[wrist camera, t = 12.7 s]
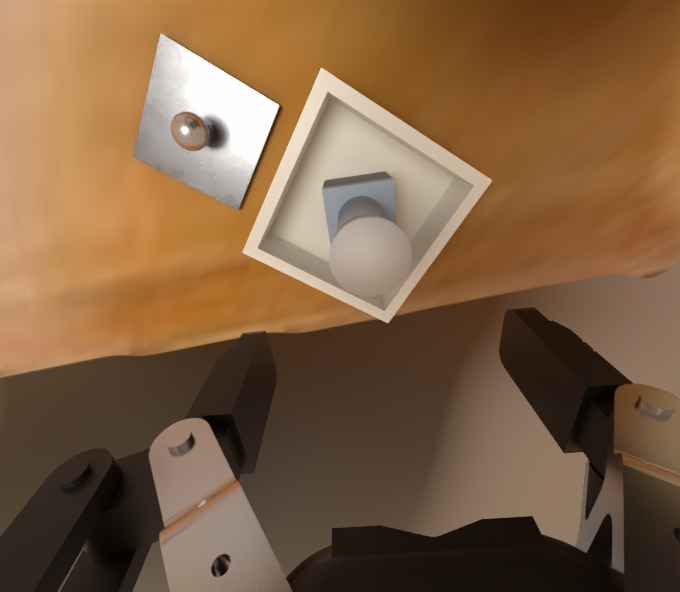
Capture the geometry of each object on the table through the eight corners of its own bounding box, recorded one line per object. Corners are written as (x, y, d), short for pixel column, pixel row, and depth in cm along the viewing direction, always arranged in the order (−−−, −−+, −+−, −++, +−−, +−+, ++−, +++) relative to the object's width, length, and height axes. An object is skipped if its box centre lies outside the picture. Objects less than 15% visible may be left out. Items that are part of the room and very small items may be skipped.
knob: (324, 180, 29) (312, 216, 17) (385, 171, 29) (419, 201, 16) (333, 238, 32) (328, 308, 19) (389, 230, 32) (421, 297, 19)
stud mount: (138, 156, 29) (102, 160, 25) (165, 35, 25) (129, 15, 21) (240, 208, 31) (223, 221, 27) (280, 106, 27) (269, 101, 23)
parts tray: (257, 233, 33) (242, 252, 27) (325, 80, 26) (321, 67, 21) (381, 295, 36) (388, 323, 31) (466, 172, 30) (492, 180, 25)
